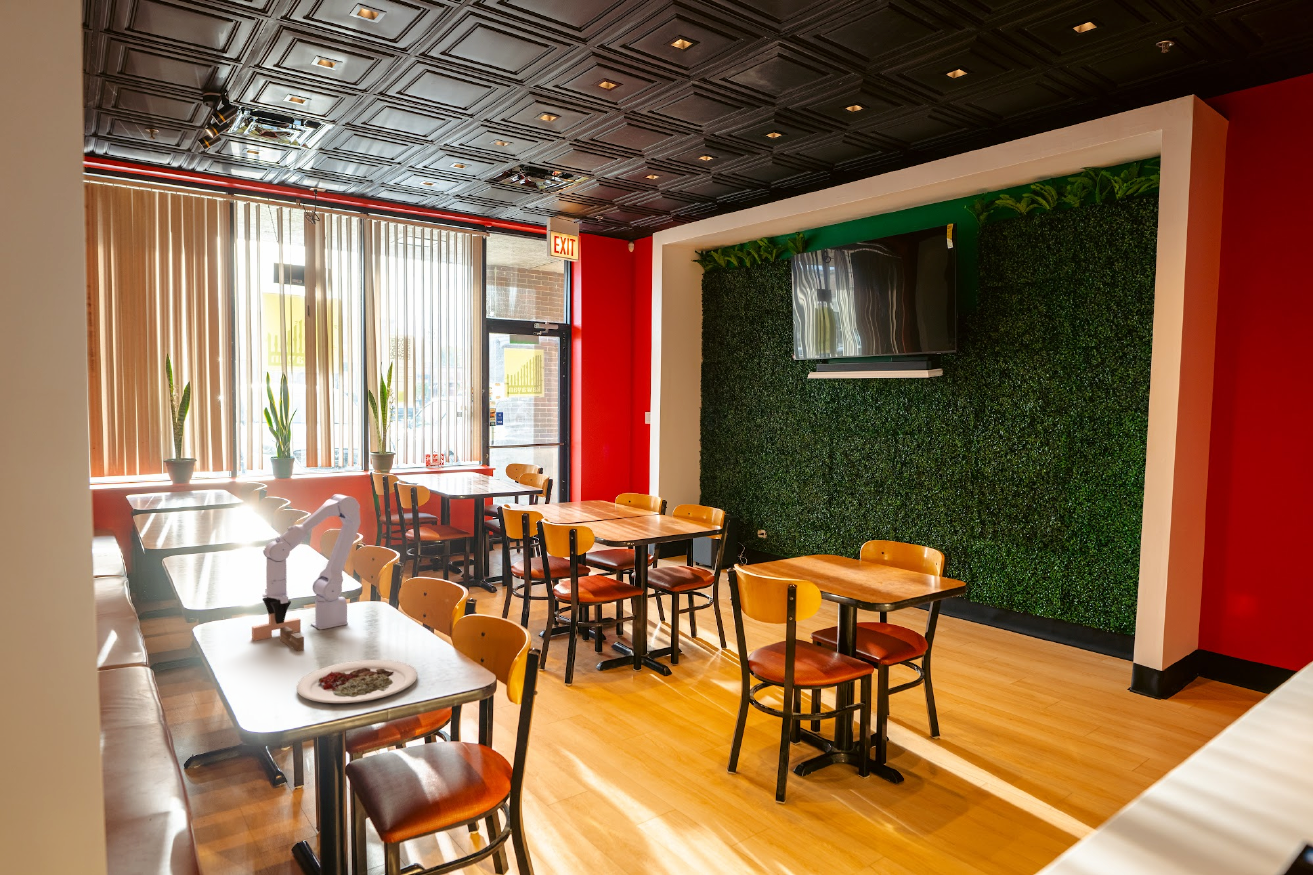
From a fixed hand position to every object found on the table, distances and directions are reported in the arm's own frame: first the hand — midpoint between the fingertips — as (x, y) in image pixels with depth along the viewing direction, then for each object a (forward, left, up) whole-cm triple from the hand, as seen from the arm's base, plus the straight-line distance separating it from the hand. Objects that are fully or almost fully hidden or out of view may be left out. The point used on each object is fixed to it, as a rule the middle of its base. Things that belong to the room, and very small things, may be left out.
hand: (276, 621), depth 238 cm
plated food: (-1, +58, -5) cm, 58 cm away
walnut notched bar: (0, +13, -5) cm, 14 cm away
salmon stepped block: (0, 0, -5) cm, 5 cm away
